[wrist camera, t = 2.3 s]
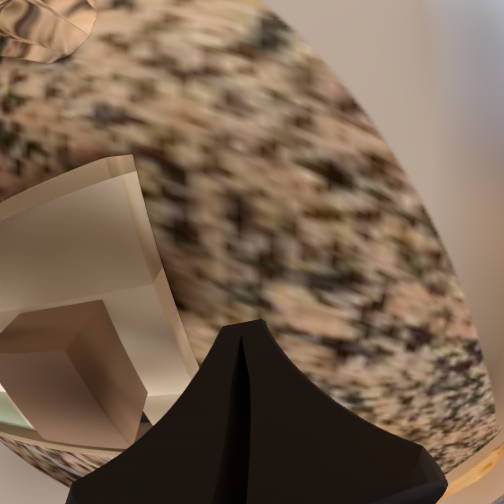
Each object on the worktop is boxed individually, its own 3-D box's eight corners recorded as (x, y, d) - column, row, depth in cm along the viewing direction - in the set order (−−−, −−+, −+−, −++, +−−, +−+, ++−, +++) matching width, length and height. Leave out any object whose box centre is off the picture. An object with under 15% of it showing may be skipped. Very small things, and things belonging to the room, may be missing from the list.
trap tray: (222, 421, 14) (221, 456, 12) (3, 413, 14) (-9, 433, 12) (132, 154, 9) (105, 157, 7) (-80, 255, 10) (-102, 268, 7)
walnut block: (148, 392, 11) (132, 449, 8) (67, 394, 11) (44, 439, 8) (102, 299, 9) (65, 350, 7) (20, 313, 9) (-19, 353, 7)
